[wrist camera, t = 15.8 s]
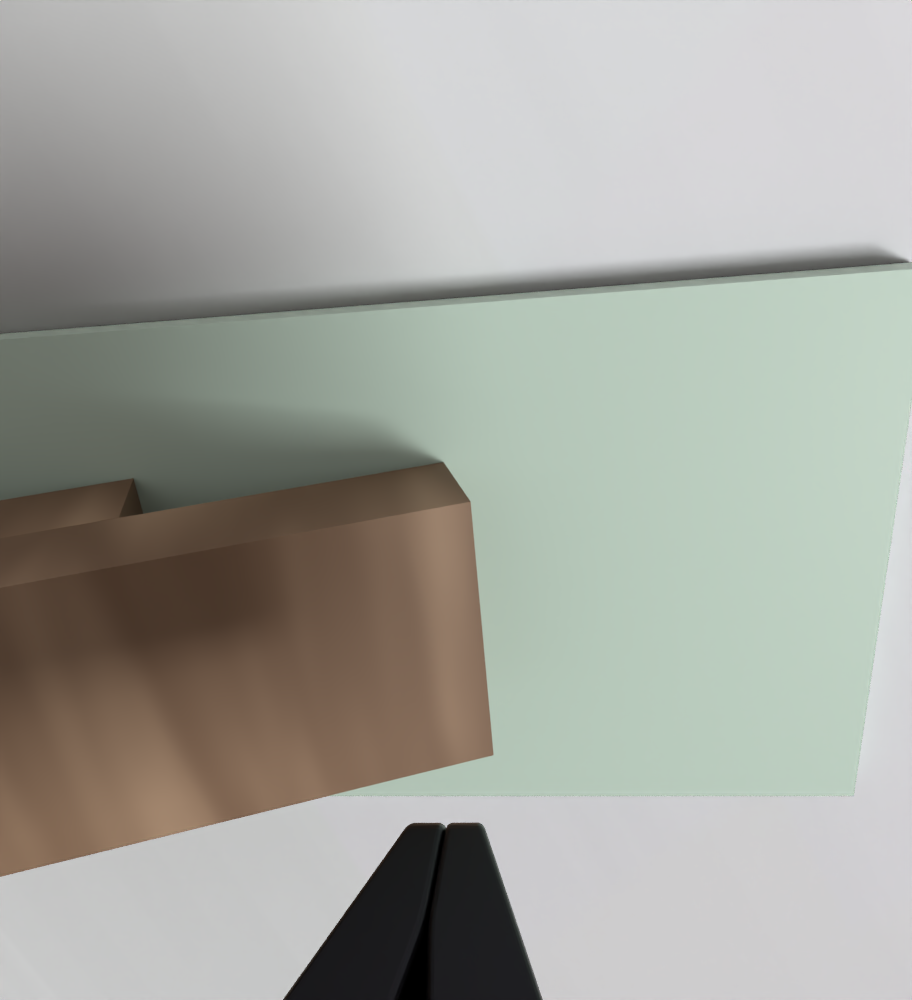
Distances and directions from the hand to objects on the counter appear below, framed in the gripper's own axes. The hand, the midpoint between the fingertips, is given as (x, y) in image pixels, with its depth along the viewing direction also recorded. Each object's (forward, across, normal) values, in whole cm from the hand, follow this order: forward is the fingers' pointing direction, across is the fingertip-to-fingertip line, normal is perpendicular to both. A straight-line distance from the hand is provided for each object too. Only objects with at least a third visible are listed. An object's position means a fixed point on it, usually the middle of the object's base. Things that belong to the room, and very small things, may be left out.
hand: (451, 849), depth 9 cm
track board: (+6, +10, 0) cm, 12 cm away
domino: (+5, 0, 0) cm, 5 cm away
